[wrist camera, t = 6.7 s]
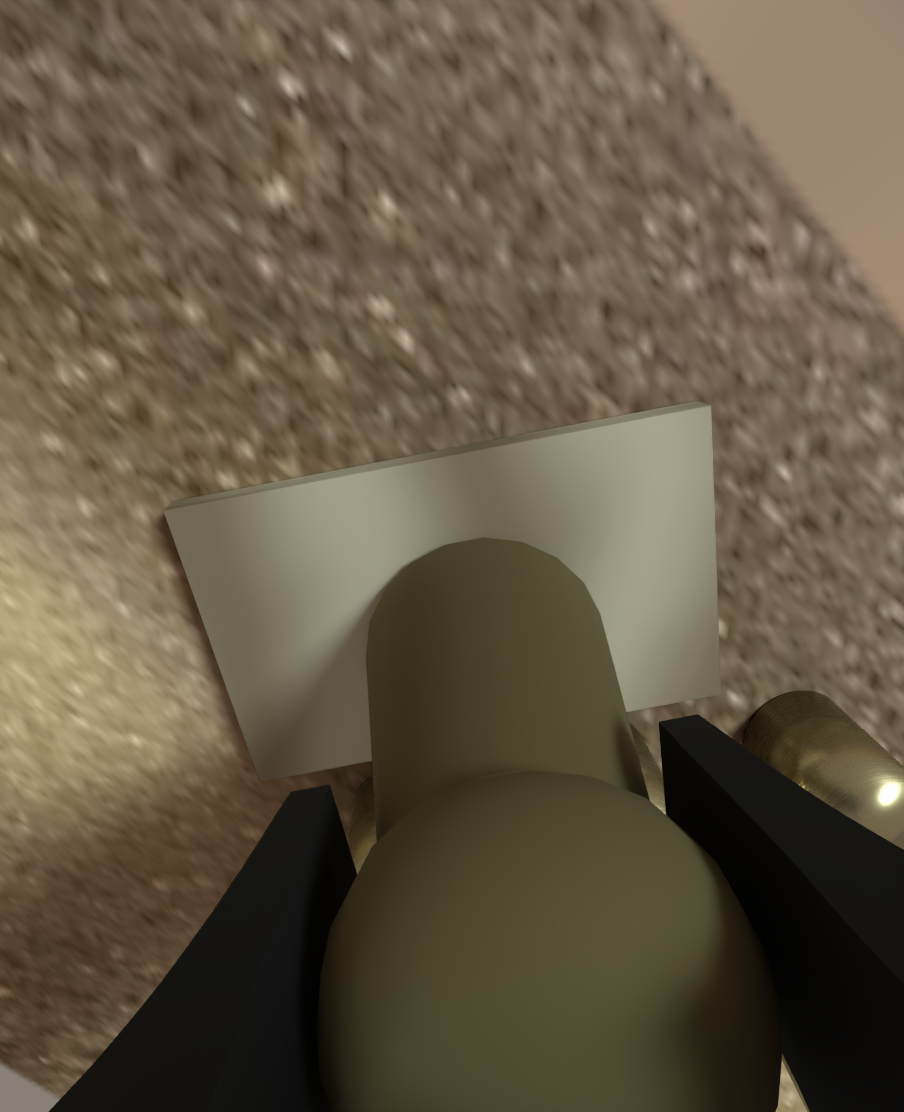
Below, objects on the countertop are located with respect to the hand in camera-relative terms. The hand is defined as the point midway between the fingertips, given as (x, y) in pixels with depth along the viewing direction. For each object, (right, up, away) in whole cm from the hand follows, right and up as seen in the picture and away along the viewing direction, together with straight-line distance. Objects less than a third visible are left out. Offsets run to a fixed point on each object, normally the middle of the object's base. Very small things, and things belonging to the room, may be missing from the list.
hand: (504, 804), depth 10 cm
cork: (0, +2, +7) cm, 7 cm away
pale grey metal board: (0, +3, +7) cm, 8 cm away
